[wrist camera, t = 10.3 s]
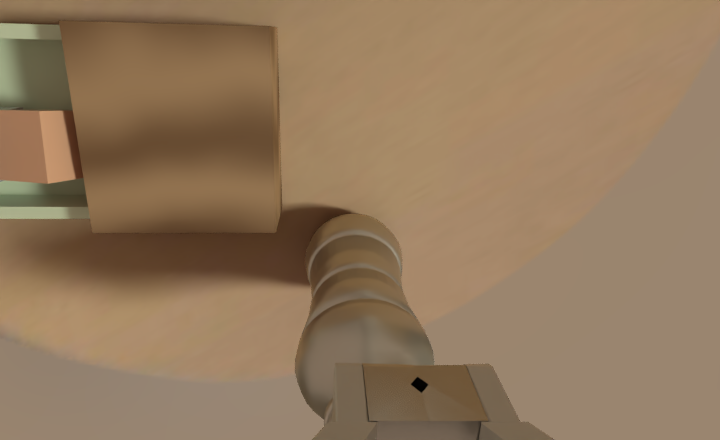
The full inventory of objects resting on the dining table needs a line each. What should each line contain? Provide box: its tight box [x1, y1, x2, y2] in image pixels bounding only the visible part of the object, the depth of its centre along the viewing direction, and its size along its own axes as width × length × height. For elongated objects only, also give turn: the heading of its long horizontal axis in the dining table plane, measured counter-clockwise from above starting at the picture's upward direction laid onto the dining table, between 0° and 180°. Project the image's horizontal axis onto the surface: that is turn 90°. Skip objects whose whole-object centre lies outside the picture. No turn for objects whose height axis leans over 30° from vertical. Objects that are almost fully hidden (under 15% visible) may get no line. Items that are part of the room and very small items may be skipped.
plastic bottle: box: [295, 214, 434, 426], centre depth 29 cm, size 6×7×20 cm
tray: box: [0, 23, 90, 219], centre depth 32 cm, size 12×11×3 cm
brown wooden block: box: [59, 21, 282, 233], centre depth 32 cm, size 12×11×5 cm
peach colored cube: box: [0, 109, 83, 184], centre depth 31 cm, size 4×4×4 cm
